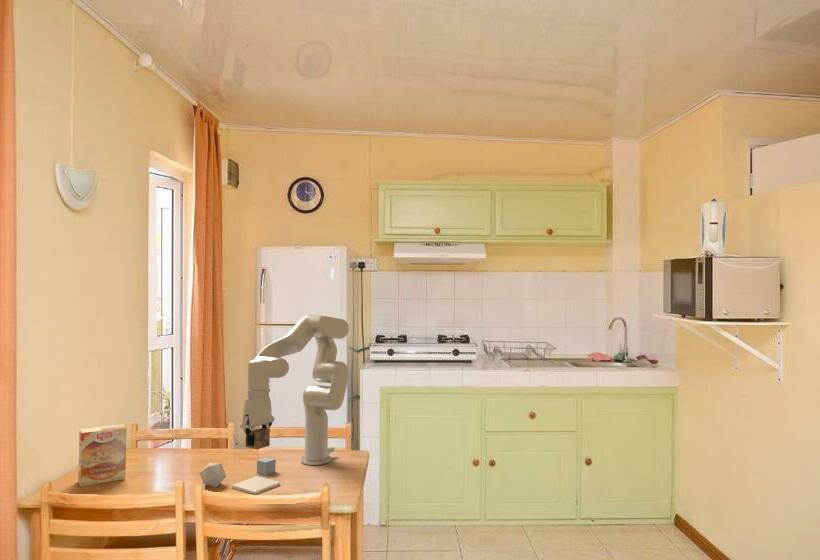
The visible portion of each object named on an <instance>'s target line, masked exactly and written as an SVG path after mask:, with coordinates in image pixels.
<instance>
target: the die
mask: <svg viewBox="0 0 820 560" xmlns="http://www.w3.org/2000/svg"><path fill="white" fill-rule="evenodd" d="M199 476H200V478H201V480H202V483H203V485H204V484H205V485H207V486H206V487H212V488H217V487H218V486H219V485H221V483H222V482H224V480H225V479H226V478H227V474H226V472H225V469H224V466H223V464H222V463H220V462H219V463H218V462H211V461H210V462H208V463H207V465H206V466H205V467H204V468H203V469H202V470H201V471H200V472H199Z"/></svg>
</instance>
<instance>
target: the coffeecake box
mask: <svg viewBox="0 0 820 560" xmlns="http://www.w3.org/2000/svg"><path fill="white" fill-rule="evenodd" d="M78 433H79V435H78V436H79V438H78V439H79V440H78V442H79V444H78V445H79V446H78V475H77V478H78V479H77V481H78V484H79V487H80V488H81V487H87V486H92V485H98V484H105V483H109V482H116V481H121V480H126V472H127V471H126V464H127V462H126V461H127V460H126V459H127V427H126V425H125V424H124V423H123V424H114V425H107V426H106V425H103V426H96V427H89V428H80V429H79V432H78Z"/></svg>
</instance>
